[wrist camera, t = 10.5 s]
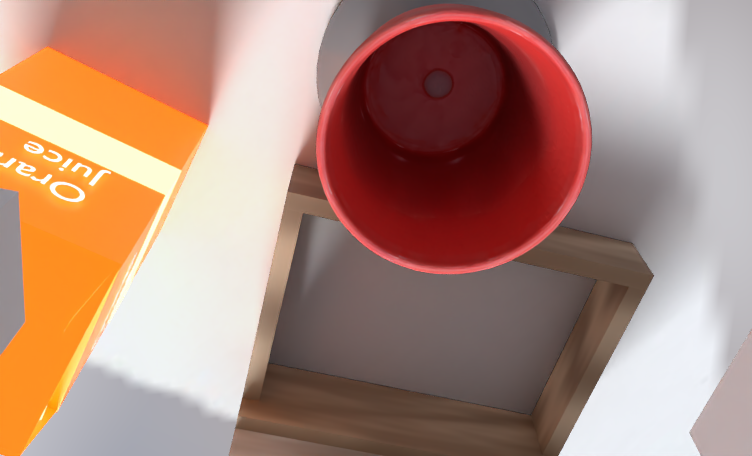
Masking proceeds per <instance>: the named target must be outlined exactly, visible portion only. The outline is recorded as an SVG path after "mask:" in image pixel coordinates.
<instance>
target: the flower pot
mask: <svg viewBox="0 0 752 456" xmlns="http://www.w3.org/2000/svg"><path fill="white" fill-rule="evenodd" d="M591 148H592V128H591V121H590V115H589V109H588V105H587V101H586V98H585V95H584V92H583V90H582V87H581V85H580V83H579V81H578V79H577V77H576V75H575V73H574V72H573V70H572V68H571V67H570V65H569V64H568V63H567V61H566V60H565V59H564V57H563V56H562V55H561V54H560V53H559V51H558V50H557V49H556V48H555V47H554V46H553V45H552V44H551V43H550V42H549V41H548V40H546V39H545V38H544V37H543V36H542V35H540V34H539V33H538V32H536V31H535V30H533V29H532V28H530V27H529V26H527V25H525V24H523V23H522V22H520V21H517V20H515V19H513V18H511V17H509V16H506V15H504V14H501V13H497V12H494V11H491V10H487V9H483V8H479V7H475V6H469V5H462V4H434V5H428V6H423V7H419V8H415V9H412V10H409V11H407V12H404V13H402V14H400V15H398V16H396V17H394V18H393V19H391V20H389V21H388V22H386V23H385V24H383V25H382V26H381V27H379V28H378V29H377V30H376V31H375V32H374V33H372V34H371V35H370V36H369V37H368V38H367V39H366V40H365V41H364V42H363V43H362V44H361V45H360V46H359V47H358V48H357V49H356V50H355V51H354V52H353V53H352V55H351V56H350V57H349V58H348V59H347V61H346V62H345V63H344V65H343V66H342V68H341V69H340V71H339V72H338V73H337V75H336V77H335V78H334V80H333V82H332V84H331V86H330V88H329V90H328V92H327V95H326V97H325V100H324V102H323V105H322V109H321V113H320V117H319V121H318V128H317V136H316V158H317V167H318V172H319V177H320V180H321V183H322V186H323V190H324V192H325V195H326V197H327V199H328V201H329V203H330V205H331V207H332V209H333V210H334V212H335V214H336V215H337V217H338V218H339V220H340V221H341V222H342V224H343V225H344V226H345V227H346V228H347V229H348V231H349V232H350V233H351V234H352V235H353V236H354V237H355V238H356V239H357V240H358V241H359V242H361V243H362V244H363V245H364V246H365V247H367V248H368V249H369V250H371V251H372V252H374V253H375V254H377V255H379V256H381V257H382V258H384V259H386V260H388V261H391V262H393V263H395V264H398V265H400V266H402V267H406V268H409V269H412V270H415V271H420V272H426V273H434V274H464V273H470V272H476V271H481V270H486V269H490V268H493V267H496V266H499V265H502V264H504V263H507V262H509V261H511V260H513V259H515V258H517V257H518V256H520V255H522V254H524V253H526V252H527V251H529V250H531V249H532V248H533V247H535V246H536V245H538V244H539V243H540V242H541V241H543V240H544V239H545V238H546V237H547V236H548V235H549V234H550V233H552V232H553V231H554V230H555V229H556V228H557V226H558V225H559V224H560V223H561V222H562V220H563V219H564V218H565V217H566V215H567V214H568V212H569V211H570V209H571V208H572V206H573V205H574V203H575V202H576V200H577V198H578V196H579V194H580V191H581V189H582V187H583V184H584V181H585V178H586V175H587V171H588V167H589V163H590V156H591Z"/></svg>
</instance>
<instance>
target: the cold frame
mask: <svg viewBox="0 0 752 456" xmlns="http://www.w3.org/2000/svg"><path fill="white" fill-rule="evenodd" d="M303 213H305V214H309V215H314V216H318V217H322V218H327V219H331V220H336V221H340V220H339V218H338V217H337V215H336V214H335V212H334V210H333V209H332V207H331V205H330V203H329V201H328V199H327V197H326V195H325V192H324V190H323V186H322V183H321V180H320V177H319V172H318V169H314V168H309V167H305V166H301V165H297V164H295V165H294V169H293V172H292V176H291V180H290V184H289V188H288V192H287V197H286V201H285V206H284V210H283V215H282V219H281V224H280V229H279V233H278V238H277V242H276V247H275V251H274V256H273V260H272V265H271V270H270V274H269V279H268V283H267V288H266V292H265V297H264V302H263V306H262V311H261V315H260V320H259V324H258V329H257V334H256V338H255V343H254V347H253V352H252V356H251V361H250V365H249V370H248V375H247V379H246V384H245V388H244V393H243V397H242V402H241V406H240V410H239V414H238V418H237V423H236V427H235V432H234V436H233V441H232V444H231V448H230V452H229V456H558V455H559V453H560V451H561V450H562V448H563V446H564V444H565V442H566V440H567V438H568V436H569V435H570V433H571V431H572V429H573V427H574V425H575V423H576V421H577V420H578V418H579V416H580V414H581V412H582V410H583V408H584V406H585V404H586V403H587V401H588V399H589V397H590V395H591V393H592V391H593V389H594V388H595V386H596V384H597V382H598V380H599V378H600V376H601V374H602V373H603V371H604V369H605V367H606V365H607V363H608V361H609V359H610V357H611V356H612V354H613V352H614V350H615V348H616V346H617V344H618V342H619V341H620V339H621V337H622V335H623V333H624V331H625V329H626V327H627V326H628V324H629V322H630V320H631V318H632V316H633V314H634V312H635V310H636V309H637V307H638V305H639V303H640V301H641V299H642V297H643V295H644V294H645V292H646V290H647V288H648V286H649V284H650V282H651V280H652V279H653V277H654V275H653V273H652V272H651V270H650V269H649V267H648V266H647V264H646V263H645V261H644V260H643V258H642V257H641V255H640V254H639V252H638V251H637V249H636V248H635V246H634V245H633V243H629V242H624V241H620V240H616V239H612V238H607V237H603V236H599V235H595V234H590V233H586V232H582V231H578V230H573V229H569V228H565V227H561V226H557V228H556V229H555V230H554V231H553V232H552V233H550V234H549V235H548V236H547V237H546V238H545V239H544V240H543V241H541V242H540V243H539V244H538V245H536V246H535V247H533V248H532V249H531V250H529V251H527V252H526V253H524V254H522V255H520V256H518V257H517V258H515V259H513V260H512V261H517V262H521V263H526V264H530V265H534V266H539V267H543V268H548V269H552V270H556V271H561V272H565V273H570V274H574V275H579V276H583V277H587V278H592V279H596V280H597V281H596V283H595V285H594V287H593V289H592V291H591V293H590V295H589V297H588V299H587V301H586V303H585V305H584V308H583V310H582V312H581V314H580V316H579V318H578V320H577V322H576V324H575V326H574V328H573V330H572V332H571V334H570V336H569V338H568V340H567V342H566V344H565V347H564V349H563V351H562V353H561V355H560V357H559V359H558V361H557V363H556V365H555V367H554V369H553V371H552V373H551V375H550V377H549V379H548V381H547V383H546V386H545V388H544V390H543V392H542V394H541V396H540V398H539V400H538V402H537V404H536V406H535V408H534V410H533V412H532V414H531V415H527V414H522V413H517V412H512V411H507V410H502V409H497V408H492V407H487V406H482V405H477V404H472V403H467V402H462V401H457V400H452V399H447V398H442V397H437V396H431V395H426V394H421V393H416V392H411V391H406V390H401V389H396V388H391V387H386V386H381V385H376V384H371V383H366V382H361V381H356V380H351V379H346V378H341V377H336V376H331V375H326V374H320V373H315V372H310V371H305V370H300V369H295V368H290V367H285V366H280V365H275V364H270V363H268V361H269V356H270V352H271V348H272V344H273V339H274V335H275V331H276V327H277V322H278V318H279V314H280V310H281V305H282V301H283V297H284V292H285V288H286V284H287V280H288V275H289V271H290V267H291V263H292V258H293V254H294V250H295V246H296V241H297V237H298V233H299V229H300V224H301V220H302V216H303ZM340 222H341V221H340Z"/></svg>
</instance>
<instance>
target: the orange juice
mask: <svg viewBox="0 0 752 456" xmlns="http://www.w3.org/2000/svg"><path fill="white" fill-rule="evenodd" d="M207 127H208V125H206V124H204V123H202V122H200V121H198V120H196V119H194V118H192V117H190V116H188V115H186V114H184V113H182V112H180V111H178V110H176V109H174V108H172V107H170V106H168V105H166V104H164V103H162V102H160V101H157V100H155V99H153V98H151V97H149V96H147V95H145V94H143V93H141V92H139V91H137V90H135V89H133V88H131V87H129V86H127V85H125V84H123V83H121V82H119V81H117V80H115V79H113V78H111V77H109V76H107V75H105V74H103V73H100V72H98V71H96V70H94V69H92V68H90V67H88V66H86V65H84V64H82V63H80V62H78V61H76V60H74V59H72V58H70V57H68V56H66V55H64V54H62V53H60V52H58V51H56V50H54V49H52V48H50V47H46V48H44V49H42V50H41V51H39V52H37V53H36V54H34V55H32V56H31V57H29V58H27V59H25V60H24V61H22V62H20V63H19V64H17V65H15V66H13V67H12V68H10V69H8V70H7V71H5V72H3V73H1V74H0V188H3V189H8V190H14V191H19V209H20V228H21V248H22V267H23V287H24V306H25V323H24V324H23V326H22V327H21V328H20V330H19V331H18V333H17V334H16V335H15V337H14V338H13V339H12V341H11V342H10V343H9V345H8V346H7V347H6V349H5V350H4V351H3V353H2V354H1V356H0V454H1V455H4V456H20V455H21V454H22V452H23V451H24V450H25V449H26V447H27V446H28V445H29V444H30V443H31V441H32V440H33V439H34V438H35V436H36V435H37V434H38V433H39V432H40V430H41V429H42V428H43V426H44V425H45V424H46V423H47V422H48V420H49V419H50V418H51V417H52V415H53V414H54V413H55V412H57V411H58V410H59V408H60V406H61V404H62V403H63V401H64V399H65V397H66V396H67V394H68V392H69V390H70V389H71V387H72V385H73V383H74V382H75V380H76V378H77V376H78V374H79V373H80V371H81V369H82V368H83V366H84V364H85V362H86V361H87V359H88V357H89V355H90V354H91V352H92V350H93V348H94V347H95V345H96V343H97V341H98V340H99V338H100V336H101V334H102V333H103V331H104V329H105V327H106V325H107V324H108V322H110V320H111V319H112V317H113V315H114V313H115V312H116V310H117V308H118V306H119V305H120V303H121V301H122V299H123V298H124V296H125V294H126V292H127V290H128V288H129V286H130V283H131V282H132V280H133V278H134V276H135V275H136V273H137V271H138V269H139V268H140V266H141V264H142V262H143V261H144V259H145V257H146V255H147V254H148V252H149V250H150V248H151V246H152V245H153V243H154V241H155V239H156V238H157V236H158V234H159V232H160V230H161V228H162V226H163V223H164V221H165V219H166V217H167V215H168V213H169V210H170V208H171V206H172V204H173V202H174V199H175V197H176V195H177V193H178V191H179V189H180V186H181V184H182V182H183V180H184V178H185V175H186V173H187V171H188V169H189V167H190V164H191V162H192V160H193V158H194V156H195V154H196V151H197V149H198V147H199V145H200V143H201V140H202V138H203V136H204V134H205V132H206V130H207Z"/></svg>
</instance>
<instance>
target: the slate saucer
mask: <svg viewBox="0 0 752 456" xmlns="http://www.w3.org/2000/svg"><path fill="white" fill-rule="evenodd" d="M434 4H462V5H469V6H475V7H479V8H483V9H487V10H491V11H494V12H497V13H501V14H504V15H506V16H509V17H511V18H513V19H515V20H517V21H520V22H522V23H523V24H525V25H527V26H529V27H530V28H532V29H533V30H535V31H536V32H538V33H539V34H540V35H542V36H543V37H544V38H545V39H546V40H548V41H549V42H550V43H551V44H552V41H551V37H550V33H549V30H548V28H547V25H546V22H545V20H544V18H543V16H542V14H541V12H540V11H539V9H538V7H537V5H536V4H535V3H534V1H533V0H343V1H342V2H341V4H340V5H339V6H338V8H337V10H336V11H335V13H334V15H333V16H332V18H331V20H330V22H329V24H328V26H327V29H326V31H325V33H324V37H323V40H322V44H321V47H320V50H319V56H318V63H317V89H318V98H319V101H320V105H321V109H322V105H323V102H324V100H325V97H326V95H327V92H328V90H329V88H330V86H331V84H332V82H333V80H334V78H335V77H336V75H337V73H338V72H339V71H340V69H341V68H342V66H343V65H344V63H345V62H346V61H347V59H348V58H349V57H350V56H351V55H352V53H353V52H354V51H355V50H356V49H357V48H358V47H359V46H360V45H361V44H362V43H363V42H364V41H365V40H366V39H367V38H368V37H369V36H370V35H371V34H372V33H374V32H375V31H376V30H377V29H378V28H379V27H381V26H382V25H383V24H385V23H386V22H388V21H389V20H391V19H393V18H394V17H396V16H398V15H400V14H402V13H404V12H407V11H409V10H412V9H415V8H419V7H423V6H428V5H434Z"/></svg>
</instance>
